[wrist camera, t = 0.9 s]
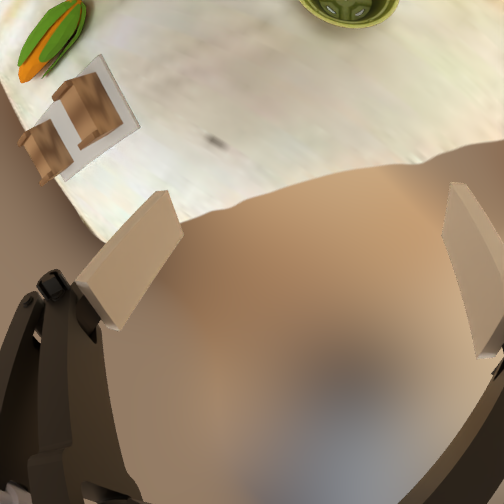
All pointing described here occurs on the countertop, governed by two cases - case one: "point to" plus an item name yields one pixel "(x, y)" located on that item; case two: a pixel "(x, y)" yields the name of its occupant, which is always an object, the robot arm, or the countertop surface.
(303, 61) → the countertop surface
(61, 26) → the corn
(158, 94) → the countertop surface
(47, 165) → the wooden brackets on board
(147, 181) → the countertop surface
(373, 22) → the plant pot
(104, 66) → the mat
